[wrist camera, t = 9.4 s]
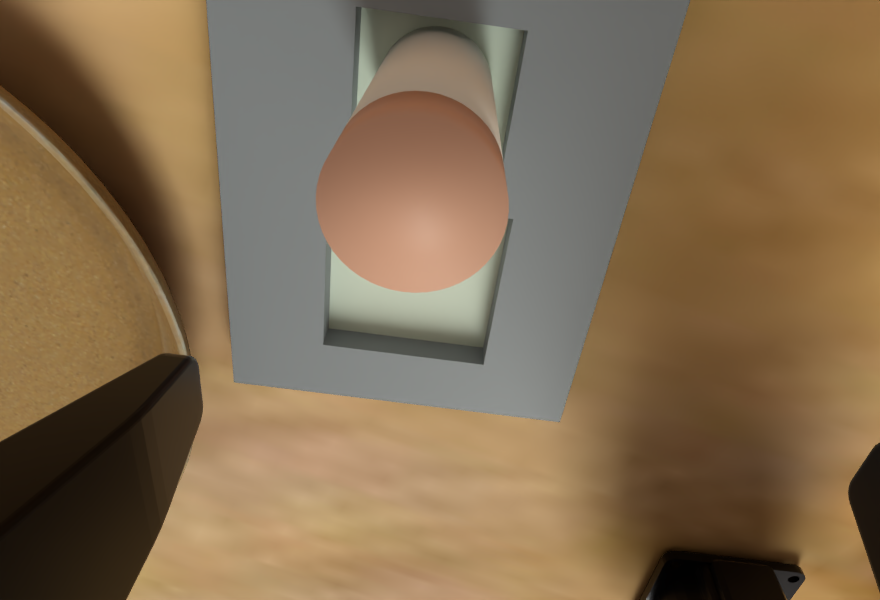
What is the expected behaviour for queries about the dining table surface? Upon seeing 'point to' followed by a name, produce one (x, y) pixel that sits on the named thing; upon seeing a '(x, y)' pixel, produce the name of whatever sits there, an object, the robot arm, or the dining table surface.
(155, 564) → the dining table surface
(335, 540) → the dining table surface
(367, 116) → the cream peg
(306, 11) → the keyhole plate
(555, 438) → the dining table surface
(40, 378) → the plant saucer
